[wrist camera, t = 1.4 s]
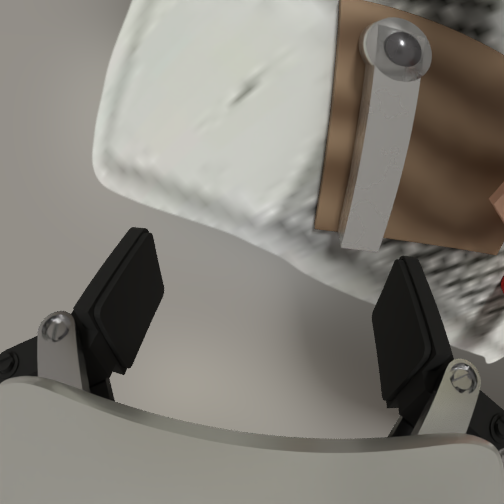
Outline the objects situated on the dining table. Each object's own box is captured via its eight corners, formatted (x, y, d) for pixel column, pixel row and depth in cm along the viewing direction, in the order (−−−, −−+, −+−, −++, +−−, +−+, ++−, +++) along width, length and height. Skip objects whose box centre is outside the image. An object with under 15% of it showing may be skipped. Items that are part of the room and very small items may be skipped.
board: (339, -2, 16) (341, -4, 15) (544, 84, 14) (550, 87, 13) (314, 222, 30) (314, 229, 29) (492, 249, 27) (496, 255, 26)
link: (360, 15, 15) (371, 8, 12) (419, 31, 15) (438, 29, 12) (330, 228, 28) (333, 252, 25) (378, 234, 27) (386, 258, 24)
